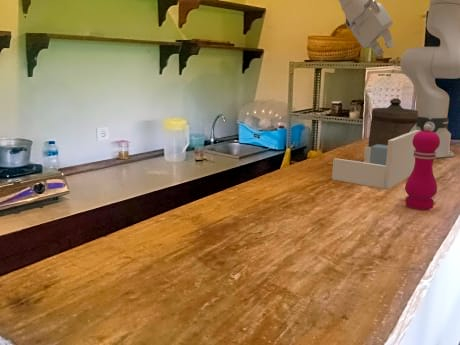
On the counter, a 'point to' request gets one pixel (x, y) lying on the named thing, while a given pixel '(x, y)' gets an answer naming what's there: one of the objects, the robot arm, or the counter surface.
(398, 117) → the wooden container
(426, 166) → the pepper mill
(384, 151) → the block
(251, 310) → the counter surface
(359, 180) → the open box
